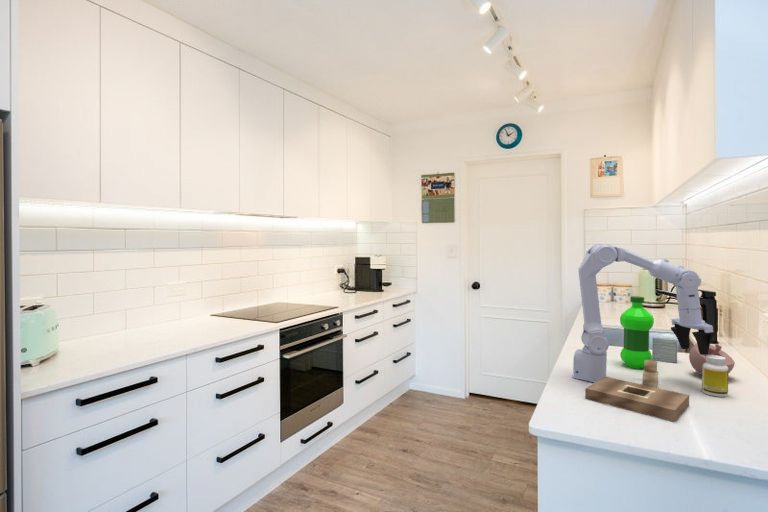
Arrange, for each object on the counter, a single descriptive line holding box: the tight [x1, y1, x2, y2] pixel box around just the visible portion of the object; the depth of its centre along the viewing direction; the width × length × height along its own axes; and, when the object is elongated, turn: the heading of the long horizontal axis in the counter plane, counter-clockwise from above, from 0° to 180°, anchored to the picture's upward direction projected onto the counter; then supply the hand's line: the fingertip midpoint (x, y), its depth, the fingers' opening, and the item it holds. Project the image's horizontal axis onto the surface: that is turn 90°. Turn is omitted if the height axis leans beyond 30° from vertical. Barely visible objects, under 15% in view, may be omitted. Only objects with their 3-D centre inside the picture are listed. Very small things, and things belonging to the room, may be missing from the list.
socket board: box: [584, 376, 690, 422], centre depth 123 cm, size 22×15×3 cm
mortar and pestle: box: [688, 343, 736, 375], centre depth 144 cm, size 12×12×12 cm
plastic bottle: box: [619, 295, 655, 370], centre depth 156 cm, size 10×10×25 cm
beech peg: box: [641, 359, 659, 388], centre depth 132 cm, size 4×4×9 cm
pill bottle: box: [701, 355, 730, 398], centre depth 129 cm, size 6×6×11 cm
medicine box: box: [651, 335, 679, 364], centre depth 164 cm, size 8×4×9 cm, turn 58°
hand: (694, 351), depth 136 cm, fingers open, 7 cm apart
